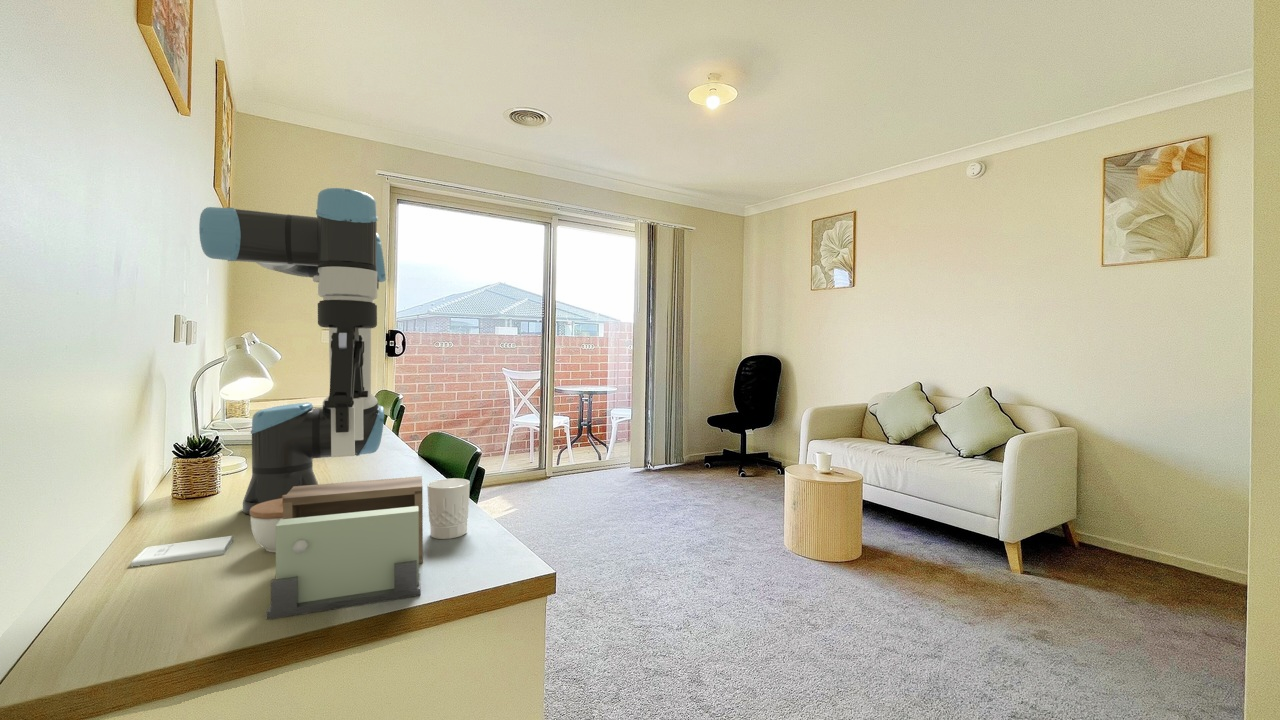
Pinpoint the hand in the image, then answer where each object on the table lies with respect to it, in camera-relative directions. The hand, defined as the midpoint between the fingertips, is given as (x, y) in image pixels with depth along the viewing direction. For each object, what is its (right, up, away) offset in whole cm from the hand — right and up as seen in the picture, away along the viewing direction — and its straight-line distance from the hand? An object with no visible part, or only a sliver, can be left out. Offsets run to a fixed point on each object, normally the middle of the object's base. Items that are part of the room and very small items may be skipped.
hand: (348, 447), depth 78 cm
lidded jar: (-23, -22, +21) cm, 38 cm away
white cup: (+5, -22, +28) cm, 36 cm away
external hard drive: (-38, -22, +18) cm, 48 cm away
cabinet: (-5, -22, +13) cm, 26 cm away
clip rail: (0, -22, 0) cm, 22 cm away
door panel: (0, -21, 0) cm, 21 cm away
